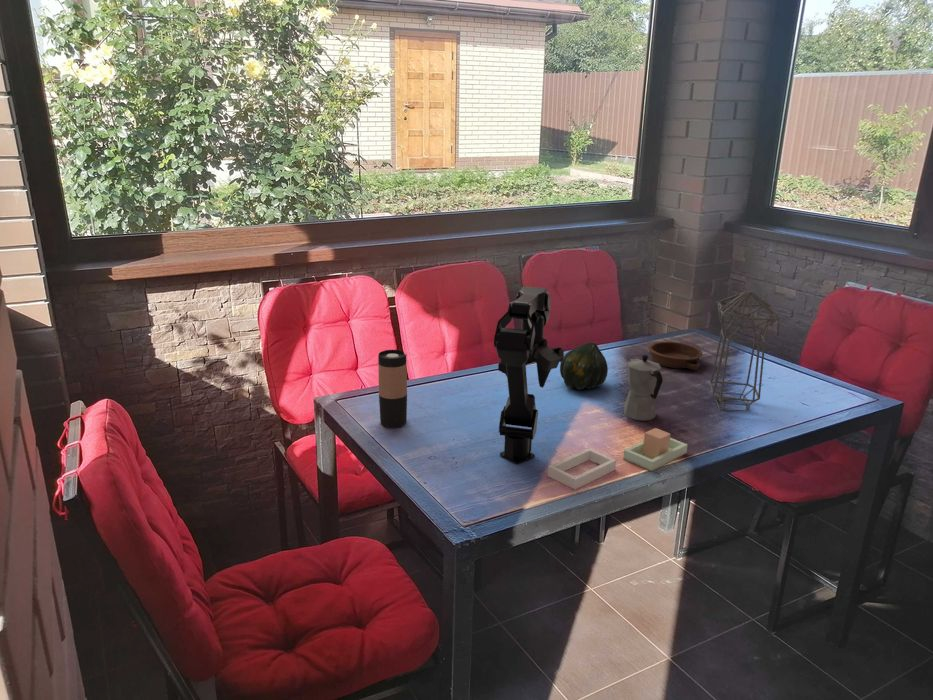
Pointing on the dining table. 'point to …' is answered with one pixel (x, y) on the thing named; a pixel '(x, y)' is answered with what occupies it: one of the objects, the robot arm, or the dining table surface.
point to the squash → (584, 367)
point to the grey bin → (575, 482)
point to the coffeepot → (642, 389)
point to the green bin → (637, 457)
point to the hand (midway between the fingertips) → (529, 391)
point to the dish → (675, 355)
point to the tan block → (656, 443)
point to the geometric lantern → (771, 316)
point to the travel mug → (392, 388)
